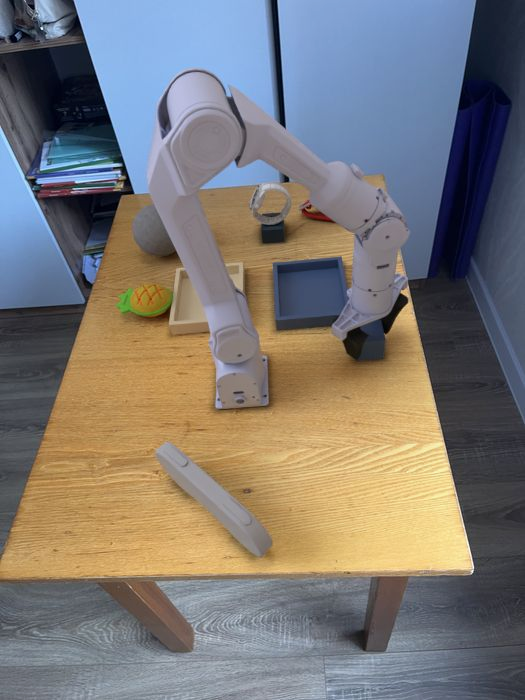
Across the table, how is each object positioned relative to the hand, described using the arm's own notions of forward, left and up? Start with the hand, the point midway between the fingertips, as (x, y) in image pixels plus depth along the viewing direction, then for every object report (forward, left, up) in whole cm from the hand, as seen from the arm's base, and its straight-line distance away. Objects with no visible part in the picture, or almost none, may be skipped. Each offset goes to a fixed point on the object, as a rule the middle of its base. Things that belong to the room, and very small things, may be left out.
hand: (367, 342), depth 80 cm
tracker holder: (+38, +2, -2) cm, 38 cm away
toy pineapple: (+13, +37, -2) cm, 39 cm away
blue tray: (+13, +8, -2) cm, 15 cm away
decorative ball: (+30, +36, -2) cm, 47 cm away
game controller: (-25, +23, -2) cm, 34 cm away
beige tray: (+14, +26, -2) cm, 30 cm away
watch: (+32, +14, -2) cm, 35 cm away
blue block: (0, 0, -2) cm, 2 cm away
